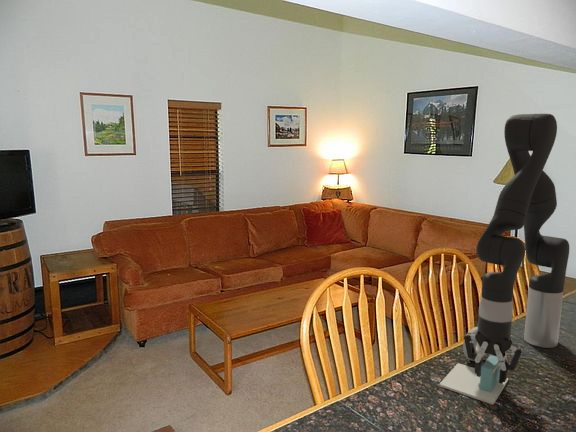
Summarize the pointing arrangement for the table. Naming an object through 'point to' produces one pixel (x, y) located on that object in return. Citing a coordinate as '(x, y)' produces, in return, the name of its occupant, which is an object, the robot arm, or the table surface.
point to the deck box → (490, 374)
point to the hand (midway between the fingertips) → (490, 378)
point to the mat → (470, 384)
